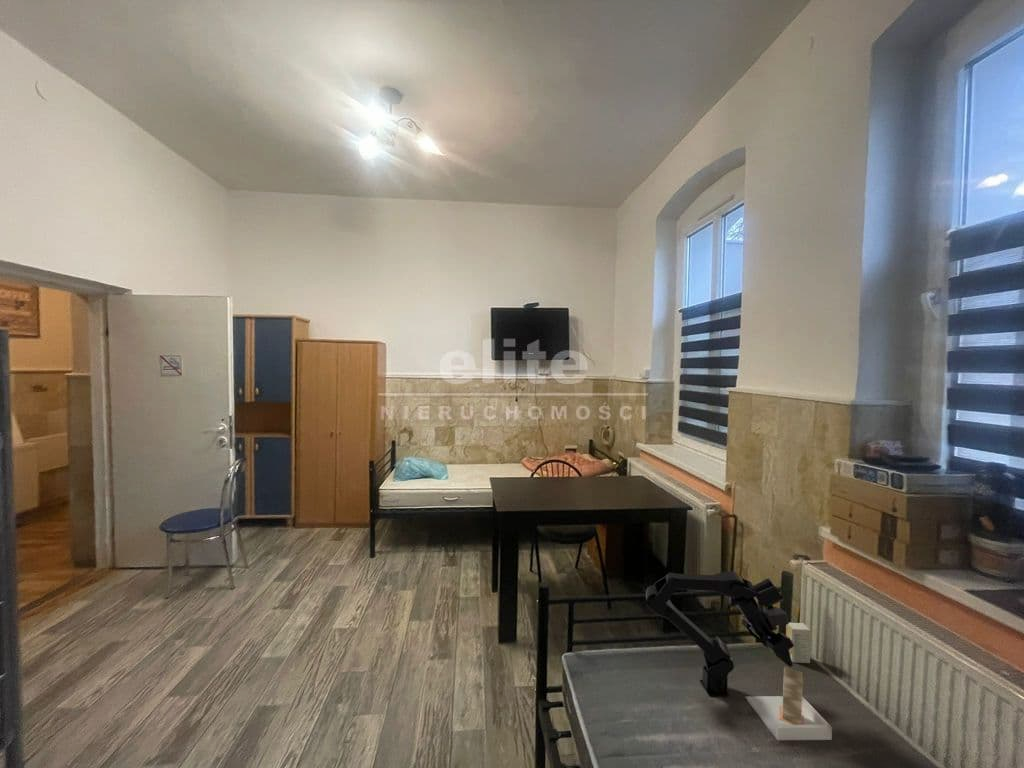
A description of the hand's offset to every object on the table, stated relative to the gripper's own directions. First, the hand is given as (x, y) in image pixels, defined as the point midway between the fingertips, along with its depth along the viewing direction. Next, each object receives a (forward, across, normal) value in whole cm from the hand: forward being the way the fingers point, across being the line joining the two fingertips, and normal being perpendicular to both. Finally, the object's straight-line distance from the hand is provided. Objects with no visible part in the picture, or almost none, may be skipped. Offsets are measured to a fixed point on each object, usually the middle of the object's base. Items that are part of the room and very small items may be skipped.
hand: (781, 657), depth 129 cm
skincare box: (+19, +23, -10) cm, 31 cm away
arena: (+11, -4, +10) cm, 15 cm away
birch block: (+12, -4, +8) cm, 15 cm away
